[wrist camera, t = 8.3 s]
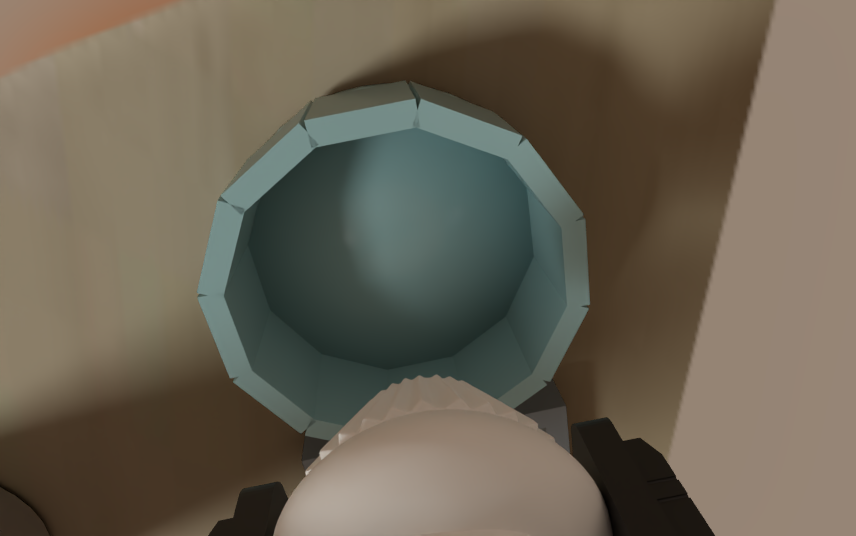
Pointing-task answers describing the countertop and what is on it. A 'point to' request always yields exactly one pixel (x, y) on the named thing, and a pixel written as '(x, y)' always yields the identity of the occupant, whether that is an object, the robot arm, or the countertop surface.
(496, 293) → the bowl
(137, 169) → the countertop surface
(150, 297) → the countertop surface
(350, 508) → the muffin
